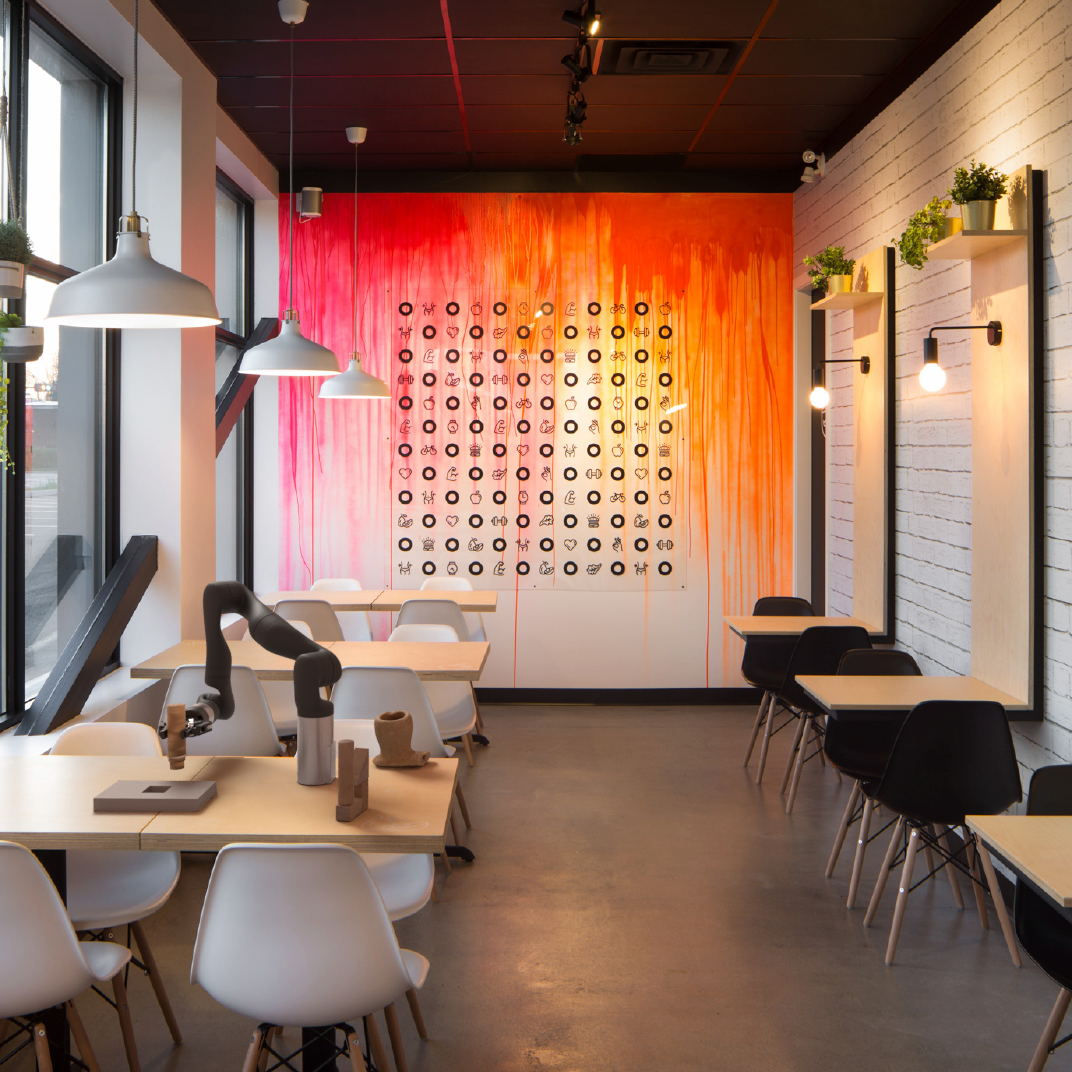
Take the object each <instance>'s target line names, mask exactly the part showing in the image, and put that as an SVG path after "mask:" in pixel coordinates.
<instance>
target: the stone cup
mask: <svg viewBox="0 0 1072 1072" xmlns="http://www.w3.org/2000/svg"><path fill="white" fill-rule="evenodd" d="M373 728H374V735H375V738H376V741H377V743H378V746H379V749H380V753H379V754H377V755H375V757H374V758H373V759H372V763H373V765H374V766H378V767H379V766H380V767H423V766H425V765H426V763H428V762H429V760H430V758H431V756H432V754H431V751H421V750H420V751H419V750H414V749H413V748H412V739H413V733H414V721H413V717H412V715H411V713H410V712H408V711H407V710H404V709H403V710H401V709H397V710H393V711H384V712H381V713H379V714H378V715H376V717H375V718H374V721H373Z"/></svg>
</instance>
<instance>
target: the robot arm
mask: <svg viewBox="0 0 1072 1072" xmlns="http://www.w3.org/2000/svg"><path fill="white" fill-rule="evenodd" d="M202 593H203V594H202V611H203V613H202V614H203V625H204V634H205V646H206V647H205V650H206V651H205V652H206V653H205V654H206V655H205V666H204V684H205V685H206V686H208V687H210V688H213V689H215V690H217V691H218V692H219V694H218V693H212V692H205V693H202V694H200V695H199V696H198V698H197V700H196V703H195V704H193V705H191V706H189V707H186V708H185V715H186V728H185V729H183V730H182V731H181V739H186V740H187V738H196V737H200V736H202V735H205V734H207V733H210V732H212V731H213V724H214V723H215V722H216V721H217V720H220V721H221V720H222V721H227V720H229V719H231V718H232V716H233V715H234V714H235V710H236V704H235V697H234V693H233V688H232V682H231V678H232V677H231V675H232V667H233V666H232V664H233V663H232V662H233V656H232V652H231V648H230V647H229V645H228V643H227V640H226V639H225V636H224V634H223V632H222V627H221V626H222V625H221V621H222V620H221V619H222V615H224V614H225V615H226V614H237V615H240V616H241V617H242V618H244V619H245V620H247V623H248V624H247V626H248V627H247V628H248V632H249V633H248V634H249V635H250V637H251V639H253V641H255V642H256V643H257V644H258V645H259V646H260V647H262V648H263V649H264V650H266V651H267V652H269V653H271V654H273V655H277V656H278V657H283V658H285V659H289V660H293V661H294V664H293V673H292V676H293V679H292V680H293V694H294V696H293V697H294V703H295V706H296V712H297V720H296V723H297V727H296V728H297V729H296V730H297V732H296V733H297V735H296V736H297V740H296V741H297V745H296V747H297V748H296V750H297V751H296V754H297V756H296V757H297V758H296V759H297V760H296V763H297V765H296V766H297V768H296V769H297V771H296V774H297V779H296V780H297V783H298V784H301V785H306V786H317V785H318V786H319V785H325V783H326V784H332V783H333V782H334V779H335V778H336V777H335V776H337V775H336V772H337V771H336V769H337V767H336V765H337V763H336V761H337V760H336V753H337V750H336V748H337V746H336V745H337V744H336V743H337V742H336V740H335V730H334V729H335V703H333V702H332V701H331V700H327V699H325V698H324V699H323V698H322V697H321V695H320V694H321V692H320V689H321V688H327V687H329V686H332V685H335V684H336V683H338V681H340V679H341V678H342V676H343V675H342V674H343V667H342V663H341V661H340V660H339V658H338V656H337V655H336V654H335V653H334V652H332V651H331V650H329V649H328V648H326V647H324V646H322V645H321V644H319V643H317V642H316V641H314V640H312V639H311V638H309V637H308V636H306V635H305V634H304V633H303V632H301V631H299V630H298V629H297V628H296V627H294V626H293V625H291V624H290V623H289V622H288V621H287V620H285V619H284V618H283V617H282V616H280V615H279V614H278V613H276V612H275V611H273V610H272V609H271V608H270V607H269V606H267V605H266V604H265V603H263V602H262V601H261V600H260V599H259V598H258V597H257V596H256V595H255V594H254V593H253V592H252V591H251V590H250V589H249V587H247V586H246V585H245V584H243V583H242V582H240V581H239V580H238V581H237V580H222V581H221V580H218V581H211V582H208V583H207V585H205V587H204V590H203V592H202ZM158 736H159V737H160V739H161V740H167V721H165V720H161V721H159V724H158Z"/></svg>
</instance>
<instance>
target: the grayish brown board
mask: <svg viewBox="0 0 1072 1072" xmlns="http://www.w3.org/2000/svg"><path fill="white" fill-rule="evenodd" d="M217 783H218V782H217V780H140V779H139V780H131V779H130V780H129V779H127V780H120V779H119V780H117V781H115V782H114V783H113V784H112V785H109V787H107V788H106V789H104V790H102V792H100V793H99V794H97V795H96V796H94V797H93V799H92V800H93V801H92V802H93V808H92V809H93V810H92V811H93V812H172V813H173V812H174V813H175V812H183V813H184V812H186V813H187V812H188V811H189V812H191V813H195V811H196V813H197V812H199V811H200V810H201V809H202V808H203V807H204V806H205V805H207V803H208V802H209V801H210V800H211V799H212V798H213V797H214V796H215V795H216V794H217V793H218V791H217V789H218V788H217V785H218V784H217ZM211 797H212V798H211ZM210 798H211V799H210ZM207 801H208V802H207ZM206 802H207V803H206ZM204 804H205V805H204ZM203 805H204V806H203ZM202 806H203V807H202ZM201 807H202V808H201ZM200 808H201V809H200ZM199 809H200V810H199ZM198 810H199V811H198ZM192 811H193V812H192Z"/></svg>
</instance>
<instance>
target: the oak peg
mask: <svg viewBox="0 0 1072 1072" xmlns="http://www.w3.org/2000/svg"><path fill="white" fill-rule="evenodd" d="M185 710H186V703H183V702H180V703H179V702H178V703H177V702H175V703H170V704H167V705H166V724H167V738H166V740H167V741H166V745H167V746H166V747H167V749H166V750H167V755H166V757H167V760H168V762H169V769H170V770H171V771H178V770H183V769H185V761H186V757H187V738H186V739H181V731H182V730H183V729H185V728H186V715H185Z"/></svg>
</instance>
